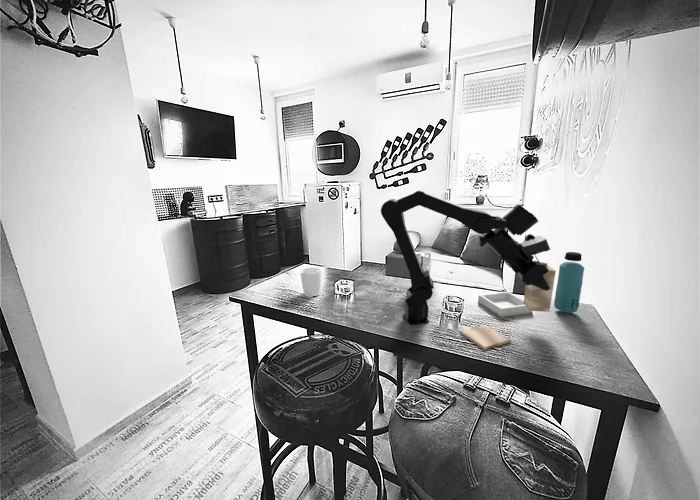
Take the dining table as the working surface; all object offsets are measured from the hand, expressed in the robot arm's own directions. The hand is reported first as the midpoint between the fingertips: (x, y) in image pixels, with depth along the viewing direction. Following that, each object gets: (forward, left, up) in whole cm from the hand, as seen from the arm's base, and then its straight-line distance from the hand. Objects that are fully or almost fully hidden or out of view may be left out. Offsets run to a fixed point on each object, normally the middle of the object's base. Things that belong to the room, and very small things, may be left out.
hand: (544, 286), depth 81 cm
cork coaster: (-18, 0, -13) cm, 22 cm away
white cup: (-63, +45, -14) cm, 78 cm away
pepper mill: (-1, +1, -7) cm, 7 cm away
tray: (0, +15, -13) cm, 20 cm away
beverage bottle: (+16, +7, -14) cm, 22 cm away
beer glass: (-20, +37, -14) cm, 44 cm away
